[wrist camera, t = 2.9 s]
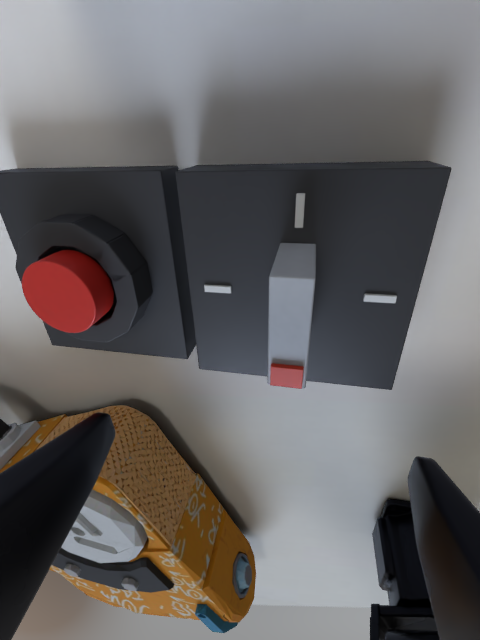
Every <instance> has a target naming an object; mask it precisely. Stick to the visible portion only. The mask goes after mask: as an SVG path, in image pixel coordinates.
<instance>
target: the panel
mask: <svg viewBox="0 0 480 640" xmlns="http://www.w3.org/2000/svg"><path fill="white" fill-rule="evenodd" d="M450 172H451V167H448V166H444V165H440V164H437V163H433V162H430V161H402V162H348V163H294V164H240V165H197V166H193V167H190V168H186V169H183V170H179V171H176V181H177V189H178V198H179V206H180V214H181V222H182V230H183V239H184V247H185V255H186V263H187V272H188V280H189V288H190V296H191V304H192V313H193V321H194V329H195V337H196V345H197V354H198V362H199V369H205V370H214V371H223V372H232V373H242V374H251V375H260V376H268V318H269V276H270V273H271V270H272V267H273V264H274V261H275V258H276V255H277V252H278V249H279V246H280V243H302V244H316V274H315V289H314V300H313V311H312V322H311V333H310V344H309V355H308V366H307V377H306V381H315V382H324V383H333V384H342V385H351V386H360V387H369V388H379V389H388V390H392V387H393V383H394V380H395V376H396V372H397V369H398V365H399V361H400V357H401V354H402V350H403V346H404V343H405V339H406V335H407V331H408V328H409V324H410V320H411V317H412V313H413V309H414V306H415V302H416V298H417V294H418V291H419V287H420V283H421V280H422V276H423V272H424V269H425V265H426V261H427V257H428V254H429V250H430V246H431V243H432V239H433V235H434V232H435V228H436V224H437V220H438V217H439V213H440V209H441V206H442V202H443V198H444V195H445V191H446V187H447V183H448V180H449V176H450Z"/></svg>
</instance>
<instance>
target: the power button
mask: <svg viewBox="0 0 480 640" xmlns="http://www.w3.org/2000/svg"><path fill="white" fill-rule="evenodd" d="M22 289H23V293H24V296H25V298H26V300H27V302H28V304H29V306H30V307H31V308H32V310H33V311H34V312H35V313H36V314H37V315H38V316H39V317H40V318H41V319H42V320H43V321H44V322H46V323H47V324H48V325H50V326H52V327H54V328H56V329H58V330H60V331H64V332H68V333H79V332H83V331H85V330H87V329H89V328H90V327H91V326H92V325H93V324H95V323H96V322H97V321H98V320H99V319H100V318H101V317H103V316H104V315H105V314H106V313H107V312H108V311H109V310H110V308H111V307H112V304H113V300H114V291H113V286H112V283H111V281H110V278H109V277H108V275H107V273H106V272H105V270H104V269H103V268H102V267H101V266H100V265H99V264H98V263H97V262H96V261H95V260H94V259H92V258H91V257H89V256H88V255H86V254H84V253H81V252H78V251H74V250H61V251H58V252H56V253H53V254H51V255H49V256H47V257H45V258H43V259H40V260H38V261H36V262H34V263H32V264H31V265H29V266H28V267H27V269H26V270H25V272H24V274H23V277H22Z"/></svg>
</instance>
